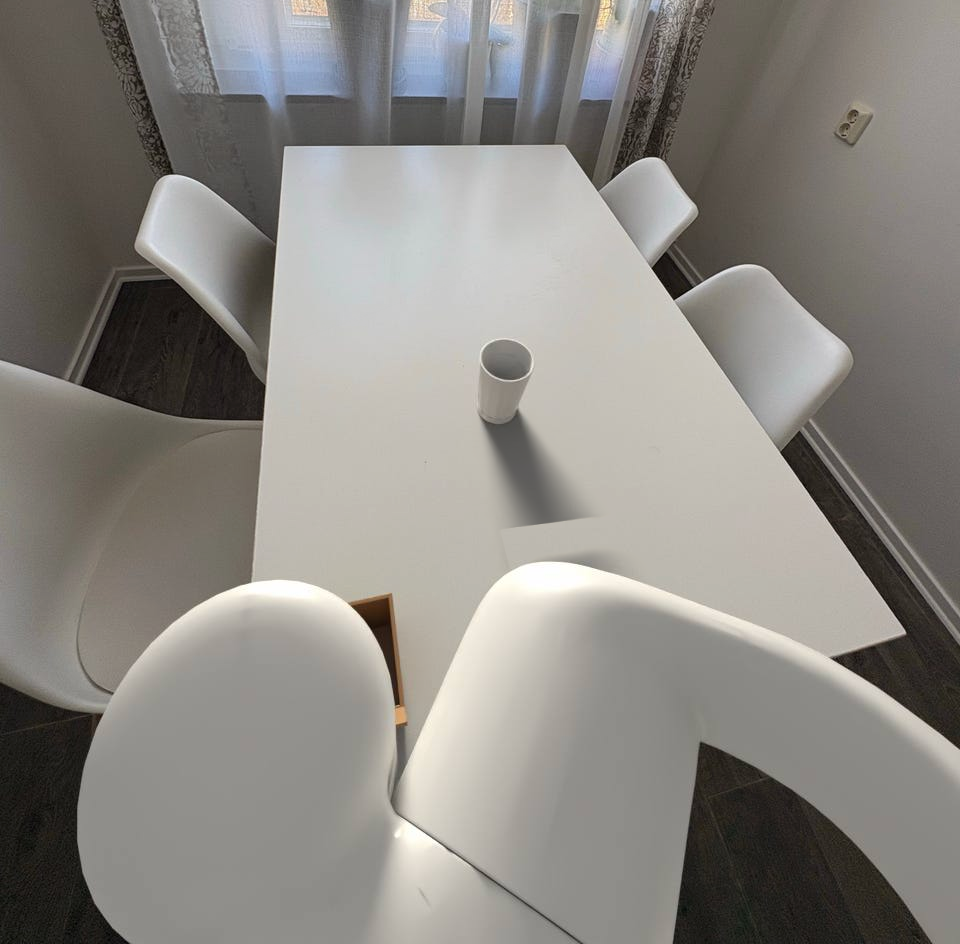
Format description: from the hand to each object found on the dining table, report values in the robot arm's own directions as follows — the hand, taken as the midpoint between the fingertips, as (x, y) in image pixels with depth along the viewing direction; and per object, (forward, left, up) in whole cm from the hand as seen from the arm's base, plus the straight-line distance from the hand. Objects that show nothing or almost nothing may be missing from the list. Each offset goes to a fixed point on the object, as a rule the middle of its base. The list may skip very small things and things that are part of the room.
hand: (340, 793), depth 34 cm
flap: (+4, -2, -10) cm, 11 cm away
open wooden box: (+9, -3, -23) cm, 25 cm away
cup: (+31, -37, -23) cm, 53 cm away
